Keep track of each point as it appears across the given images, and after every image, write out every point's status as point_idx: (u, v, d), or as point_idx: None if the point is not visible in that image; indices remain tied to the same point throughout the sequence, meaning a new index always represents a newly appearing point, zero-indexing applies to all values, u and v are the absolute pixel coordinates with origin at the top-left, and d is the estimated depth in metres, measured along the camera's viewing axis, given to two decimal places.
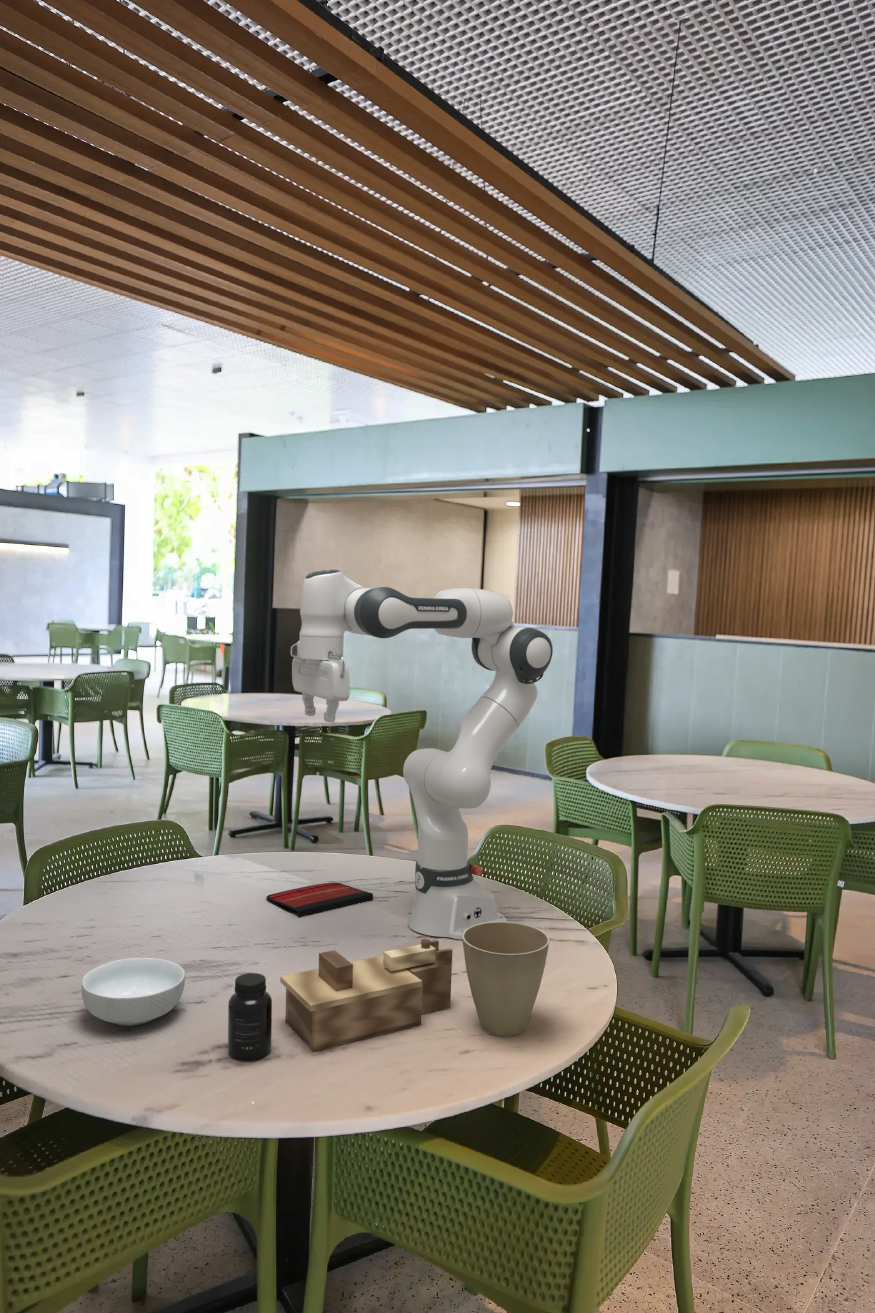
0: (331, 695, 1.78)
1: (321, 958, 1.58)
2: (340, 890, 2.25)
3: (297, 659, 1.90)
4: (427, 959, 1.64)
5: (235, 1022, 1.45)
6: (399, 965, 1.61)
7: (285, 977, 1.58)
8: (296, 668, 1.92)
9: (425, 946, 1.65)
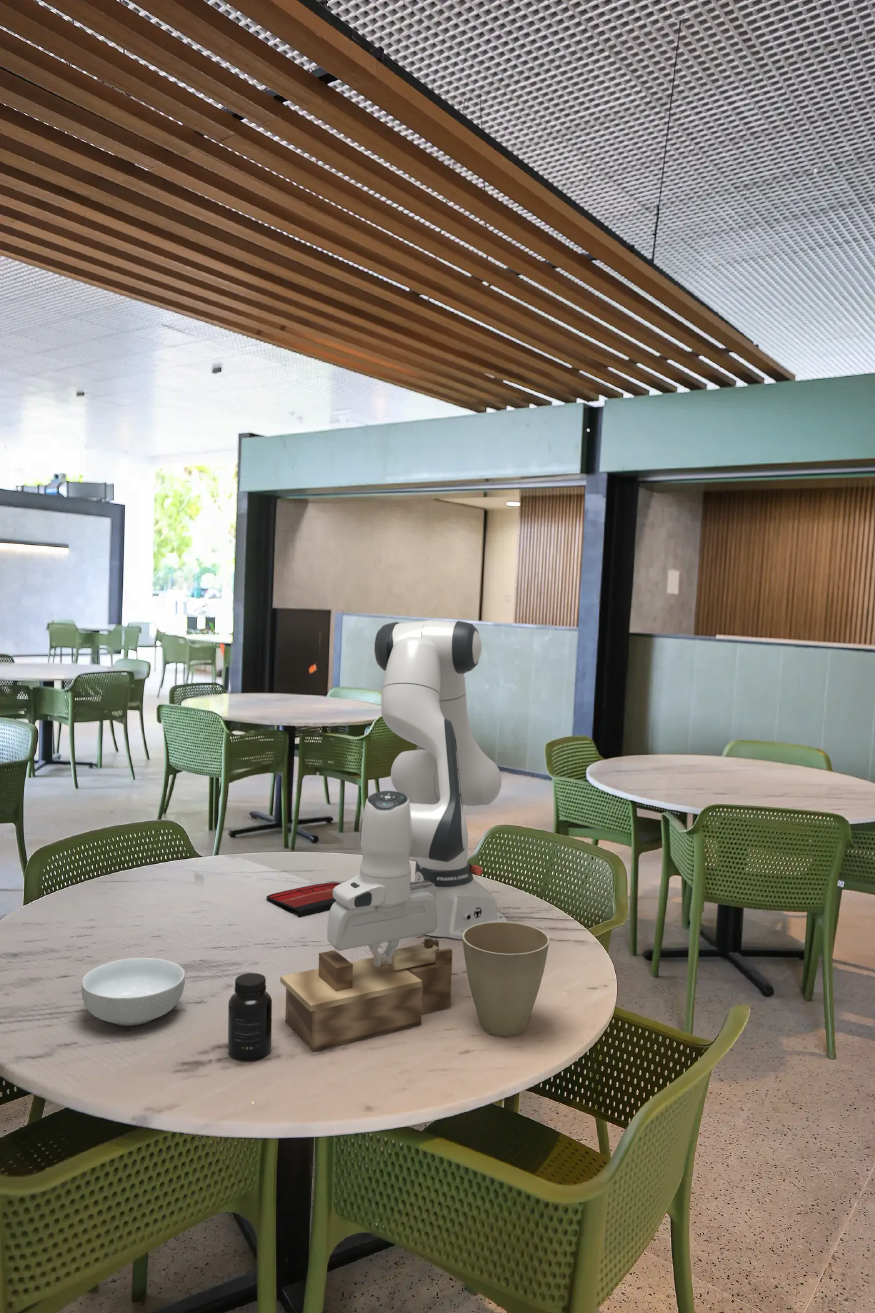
0: (434, 926, 1.64)
1: (321, 958, 1.58)
2: None
3: (363, 909, 1.55)
4: (430, 959, 1.65)
5: (235, 1022, 1.45)
6: (402, 964, 1.62)
7: (285, 977, 1.58)
8: (349, 921, 1.55)
9: (428, 945, 1.65)
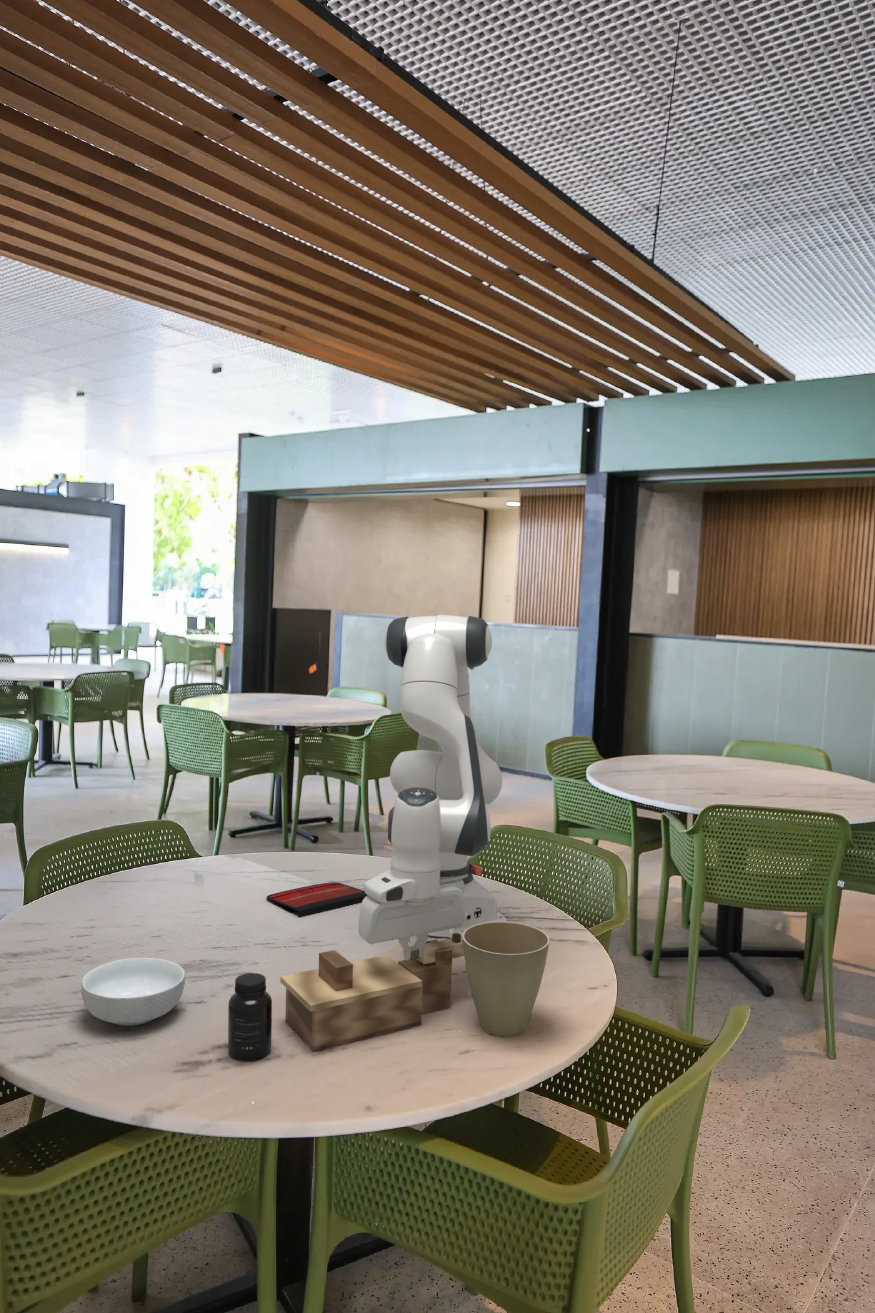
0: (462, 921, 1.67)
1: (321, 958, 1.58)
2: (340, 890, 2.25)
3: (394, 903, 1.58)
4: (458, 953, 1.68)
5: (235, 1022, 1.45)
6: (431, 958, 1.65)
7: (285, 977, 1.58)
8: (380, 915, 1.58)
9: (456, 940, 1.68)
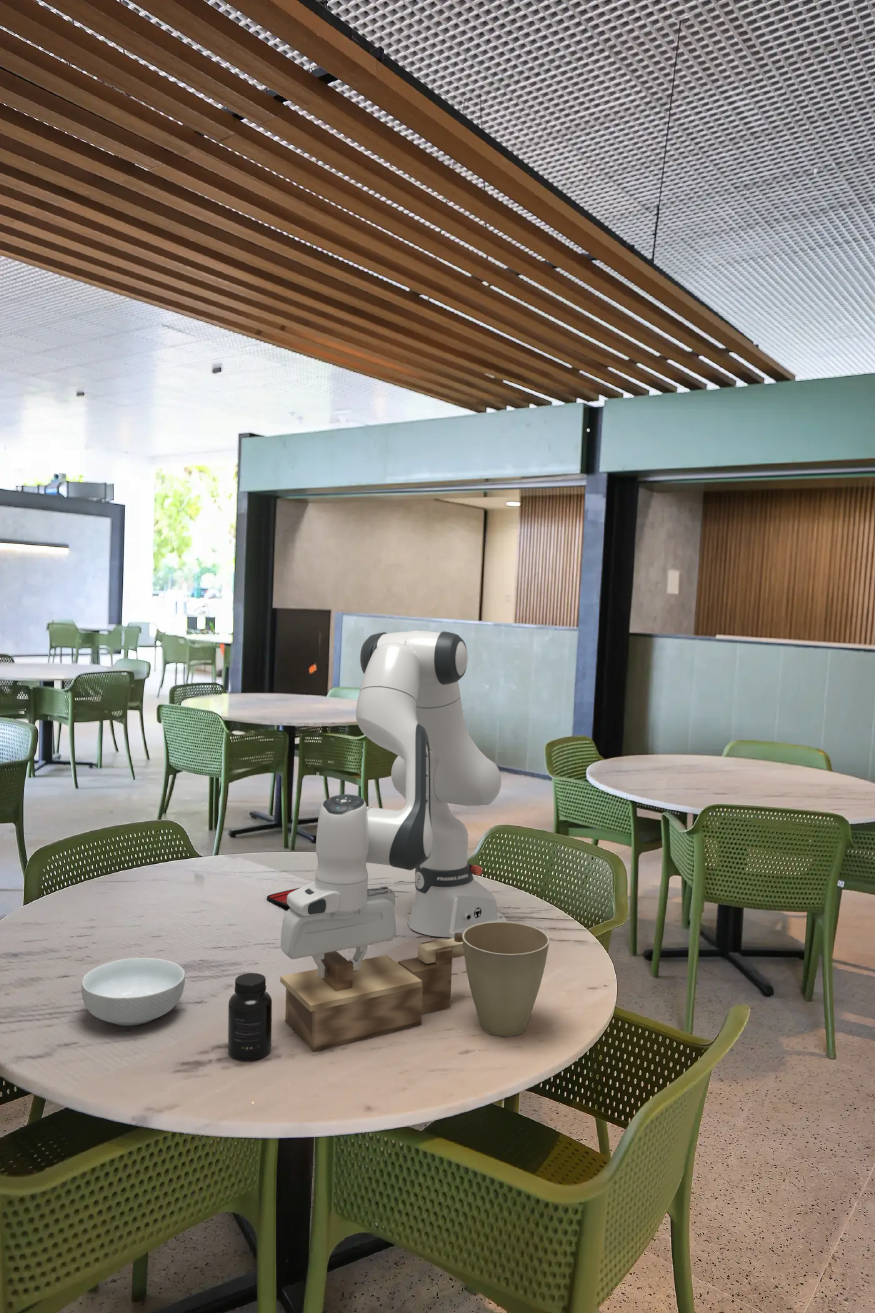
0: (392, 934, 1.60)
1: None
2: None
3: (317, 916, 1.51)
4: (460, 952, 1.68)
5: (235, 1022, 1.45)
6: (433, 957, 1.65)
7: (285, 977, 1.58)
8: (302, 929, 1.50)
9: (458, 939, 1.69)
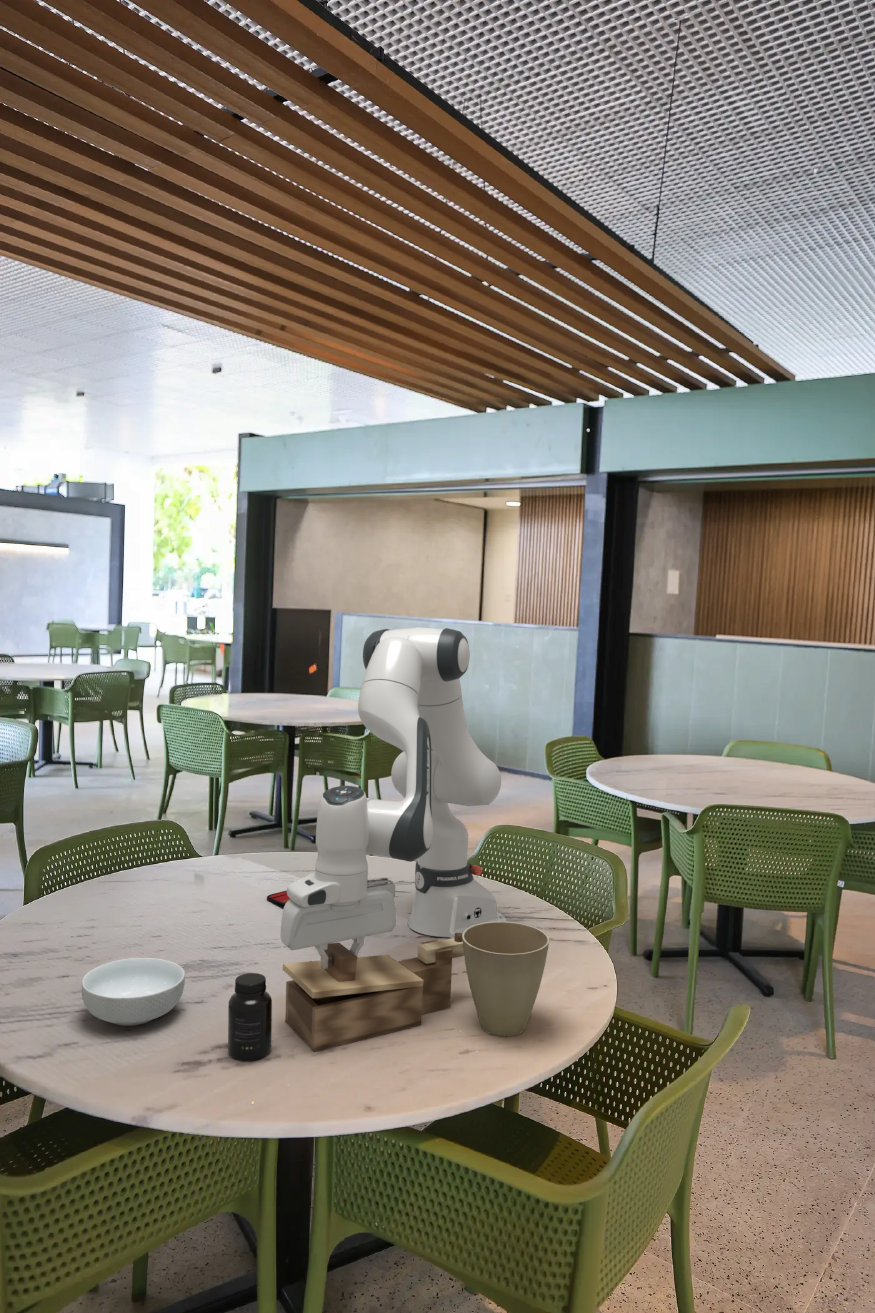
0: (393, 925, 1.60)
1: None
2: None
3: (317, 907, 1.51)
4: (460, 952, 1.68)
5: (235, 1022, 1.45)
6: (433, 957, 1.65)
7: (288, 965, 1.58)
8: (302, 920, 1.50)
9: (458, 939, 1.69)
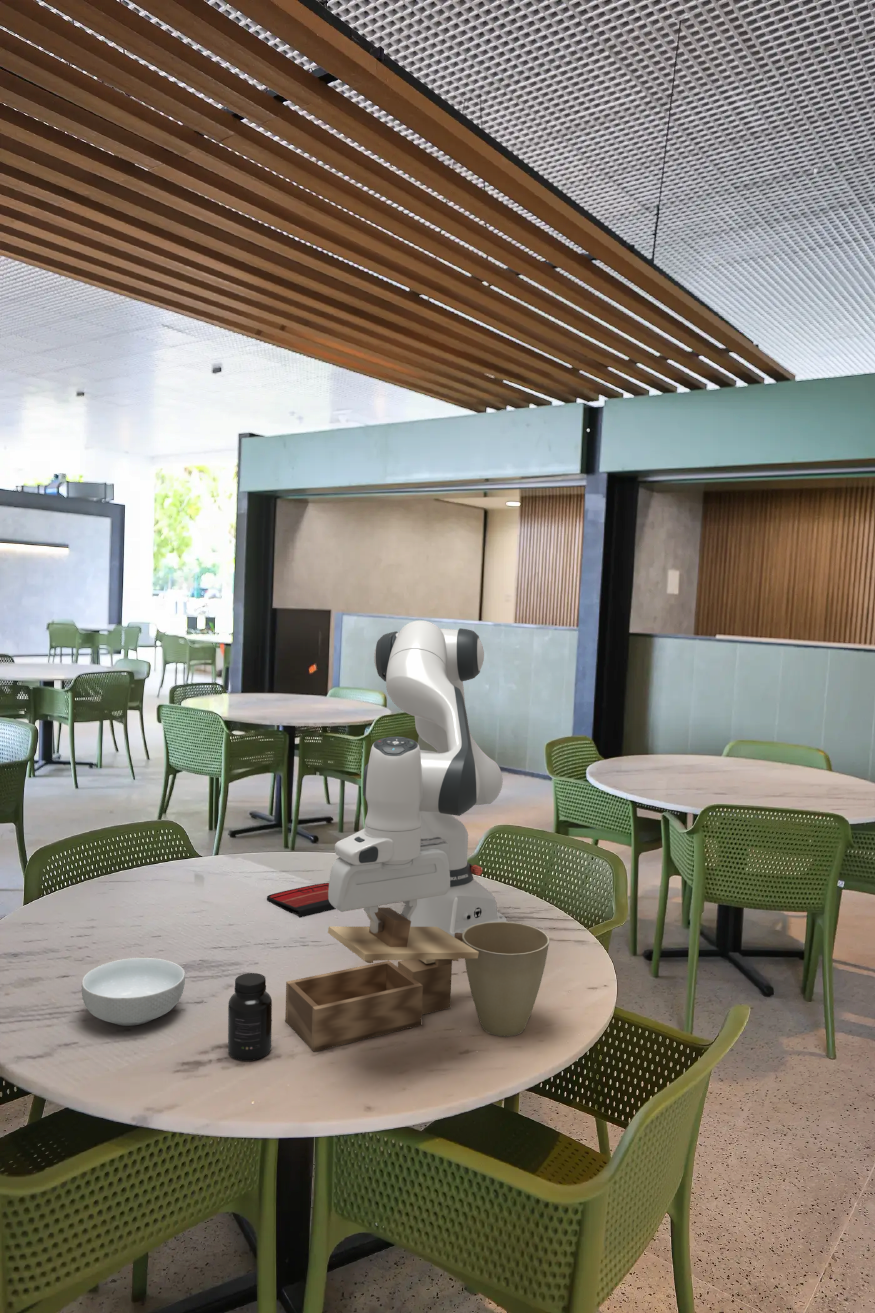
0: (446, 888, 1.49)
1: (375, 913, 1.47)
2: None
3: (368, 866, 1.40)
4: None
5: (235, 1022, 1.45)
6: None
7: (334, 928, 1.47)
8: (353, 879, 1.39)
9: (458, 939, 1.69)
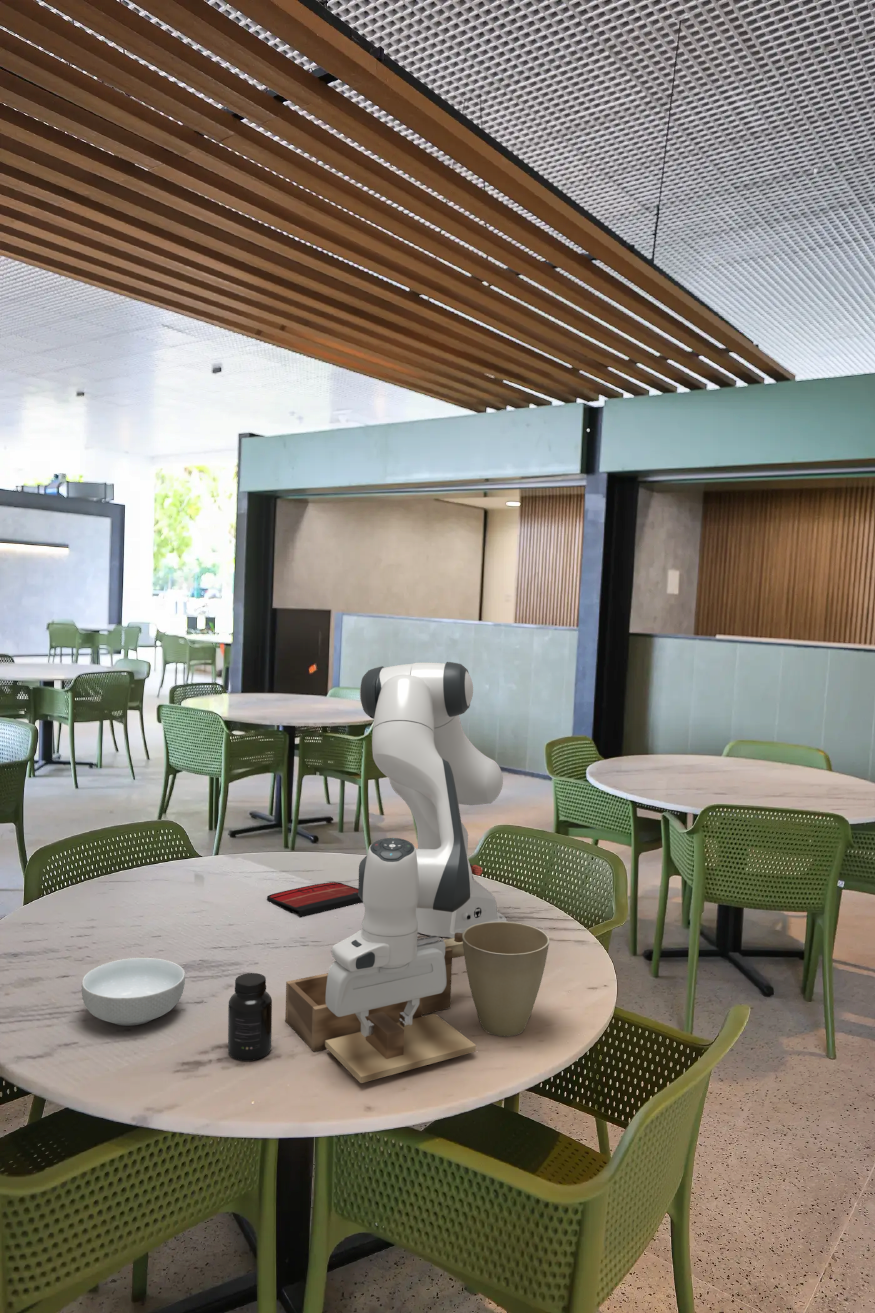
0: (443, 986, 1.50)
1: None
2: (341, 890, 2.25)
3: (365, 971, 1.41)
4: (460, 952, 1.68)
5: (235, 1022, 1.45)
6: None
7: (330, 1041, 1.48)
8: (350, 984, 1.40)
9: (458, 939, 1.69)
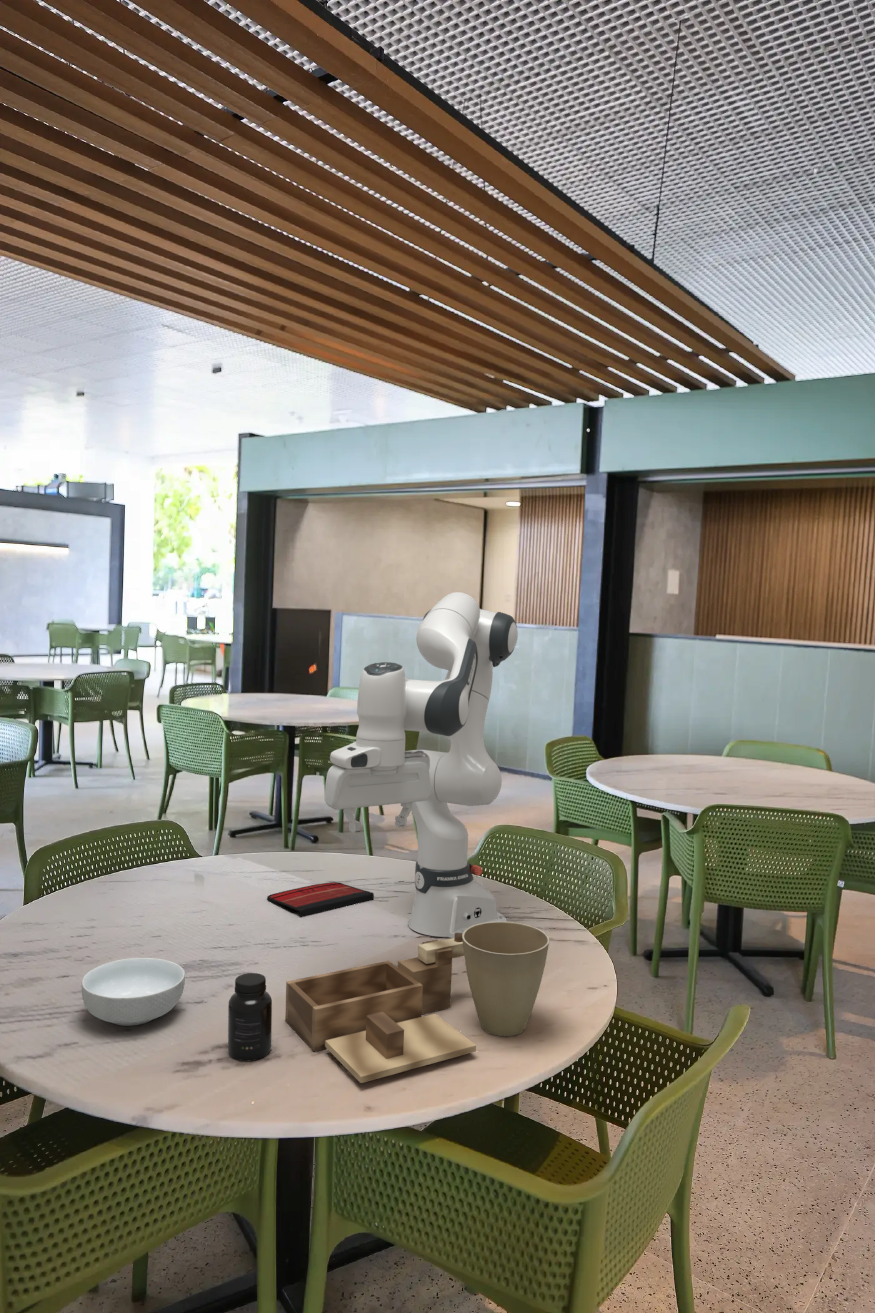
0: (427, 794, 1.71)
1: (368, 1021, 1.48)
2: (341, 890, 2.25)
3: (359, 770, 1.62)
4: (460, 952, 1.68)
5: (235, 1022, 1.45)
6: (433, 957, 1.65)
7: (330, 1041, 1.48)
8: (345, 781, 1.62)
9: (458, 939, 1.69)
